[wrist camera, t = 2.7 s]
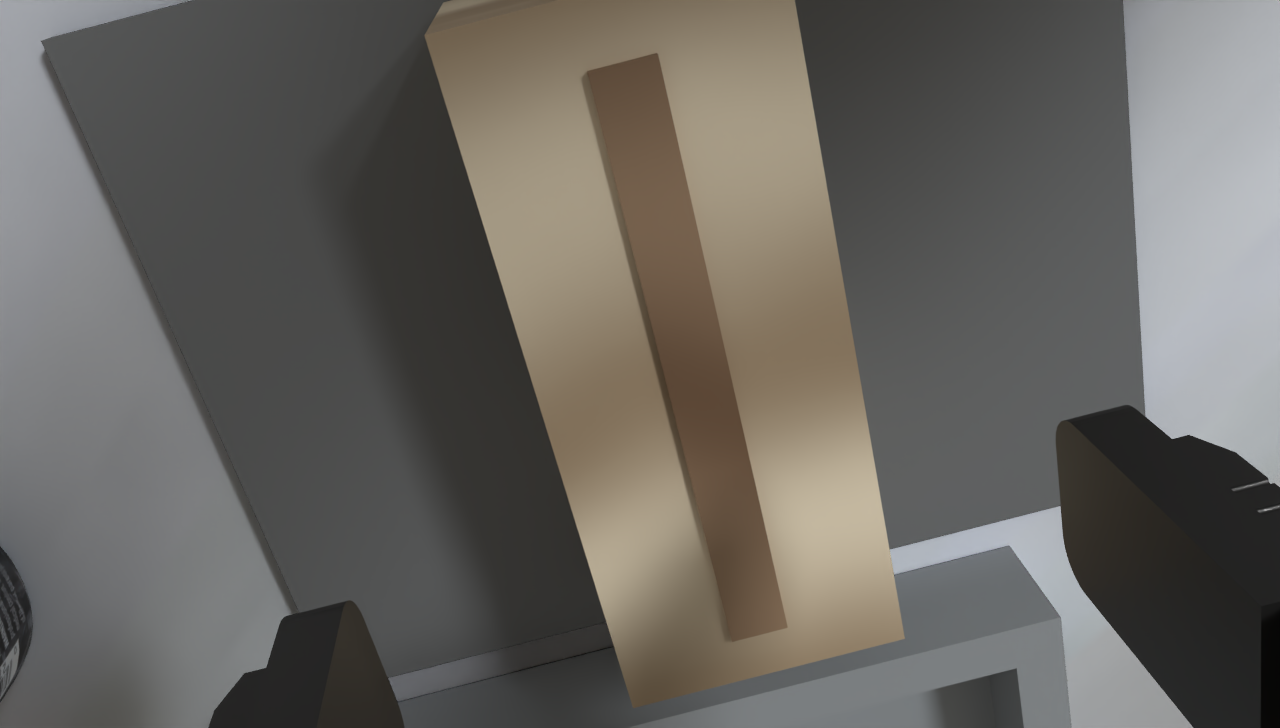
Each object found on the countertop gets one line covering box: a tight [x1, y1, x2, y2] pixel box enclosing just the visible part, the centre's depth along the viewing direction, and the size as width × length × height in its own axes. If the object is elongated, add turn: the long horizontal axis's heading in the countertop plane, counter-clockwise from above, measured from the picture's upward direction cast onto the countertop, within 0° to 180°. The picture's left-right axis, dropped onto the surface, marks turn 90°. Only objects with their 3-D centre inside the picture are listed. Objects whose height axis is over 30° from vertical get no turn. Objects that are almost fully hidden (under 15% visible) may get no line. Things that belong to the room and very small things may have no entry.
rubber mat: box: [41, 0, 1145, 678], centre depth 21 cm, size 18×14×1 cm
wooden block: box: [424, 0, 905, 708], centre depth 19 cm, size 12×5×4 cm, turn 14°
